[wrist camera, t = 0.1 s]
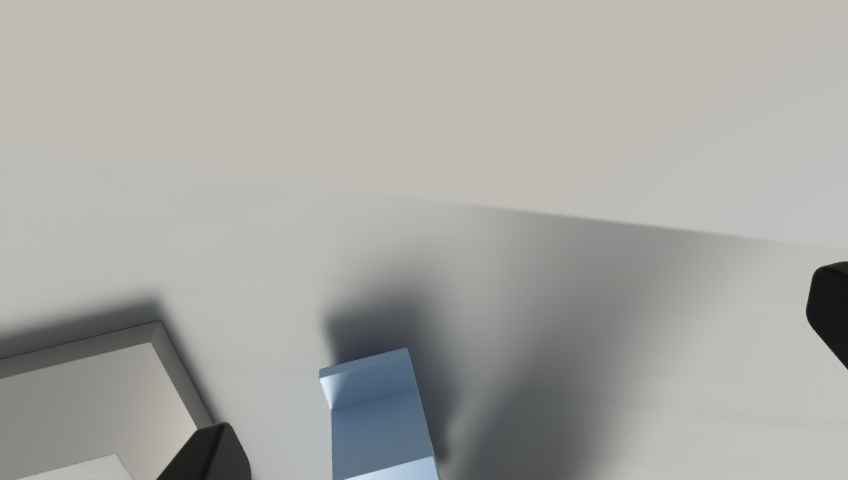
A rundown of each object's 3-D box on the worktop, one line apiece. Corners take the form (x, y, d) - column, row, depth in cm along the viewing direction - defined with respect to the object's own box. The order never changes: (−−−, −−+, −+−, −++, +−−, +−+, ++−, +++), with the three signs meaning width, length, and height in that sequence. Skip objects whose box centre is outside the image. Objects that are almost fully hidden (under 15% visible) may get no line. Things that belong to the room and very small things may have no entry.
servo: (402, 325, 25) (426, 432, 20) (440, 477, 31) (468, 596, 25) (319, 346, 25) (318, 461, 19) (372, 496, 30) (383, 621, 25)
